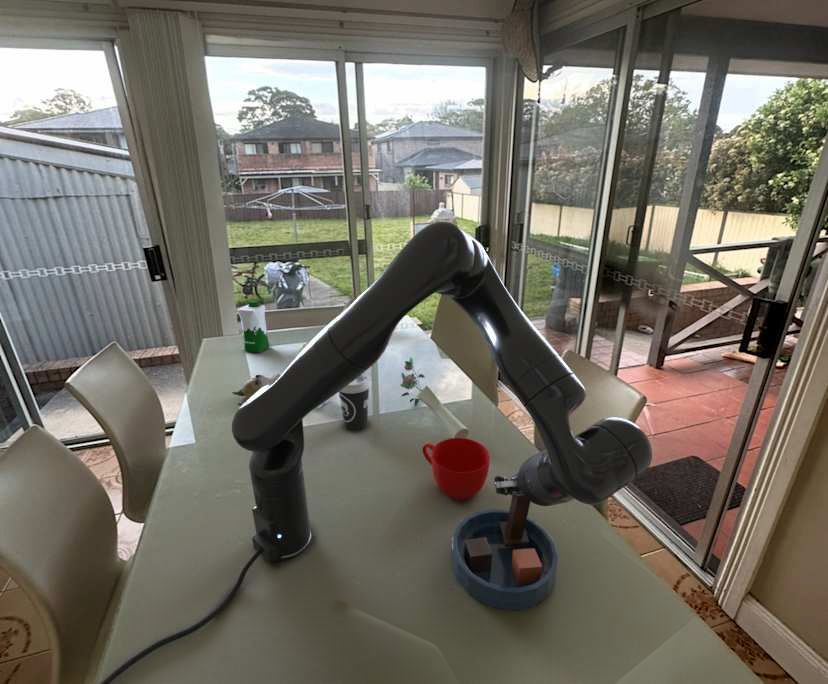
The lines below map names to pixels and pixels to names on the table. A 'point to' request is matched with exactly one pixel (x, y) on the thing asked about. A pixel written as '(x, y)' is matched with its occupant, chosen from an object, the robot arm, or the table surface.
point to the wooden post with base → (516, 523)
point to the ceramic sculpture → (255, 386)
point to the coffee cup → (355, 403)
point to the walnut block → (478, 555)
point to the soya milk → (254, 326)
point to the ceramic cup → (458, 466)
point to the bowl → (503, 562)
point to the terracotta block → (526, 566)
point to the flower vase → (433, 404)
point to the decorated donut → (304, 345)
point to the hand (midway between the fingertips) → (519, 488)
